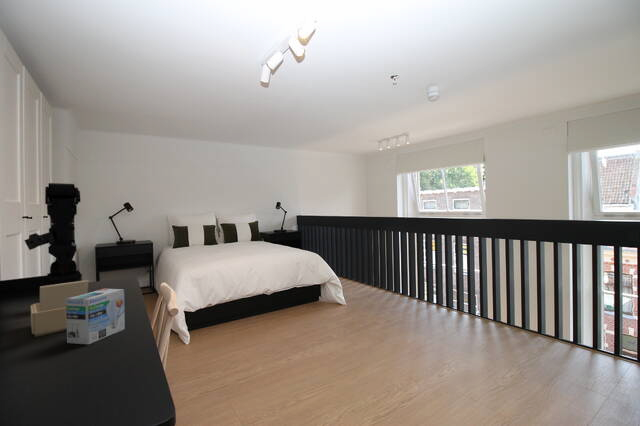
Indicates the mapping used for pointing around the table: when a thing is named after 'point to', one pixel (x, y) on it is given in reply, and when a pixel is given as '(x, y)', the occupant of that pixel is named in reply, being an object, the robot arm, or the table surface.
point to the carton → (48, 320)
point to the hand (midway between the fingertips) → (63, 274)
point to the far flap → (60, 294)
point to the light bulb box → (95, 315)
